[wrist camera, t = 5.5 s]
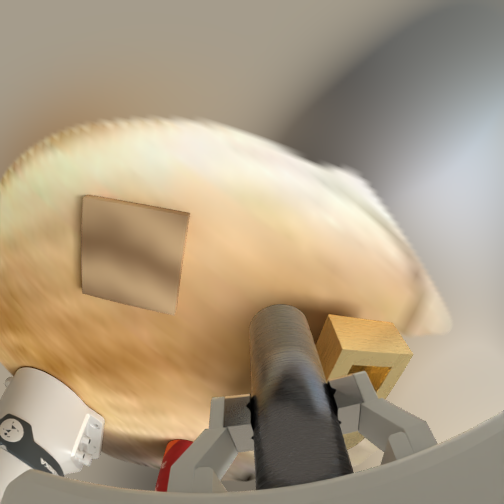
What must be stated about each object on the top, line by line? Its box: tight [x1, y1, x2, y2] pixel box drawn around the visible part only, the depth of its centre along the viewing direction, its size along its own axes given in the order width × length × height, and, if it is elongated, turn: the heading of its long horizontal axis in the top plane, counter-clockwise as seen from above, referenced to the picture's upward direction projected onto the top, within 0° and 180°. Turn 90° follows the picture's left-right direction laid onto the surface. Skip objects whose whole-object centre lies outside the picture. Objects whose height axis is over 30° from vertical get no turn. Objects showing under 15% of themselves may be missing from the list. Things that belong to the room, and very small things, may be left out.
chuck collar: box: [315, 314, 413, 450], centre depth 28 cm, size 16×9×5 cm, turn 167°
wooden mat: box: [81, 195, 190, 316], centre depth 27 cm, size 10×10×1 cm
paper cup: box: [155, 439, 193, 492], centre depth 33 cm, size 8×8×14 cm
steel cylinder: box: [249, 304, 354, 490], centre depth 11 cm, size 3×3×10 cm
